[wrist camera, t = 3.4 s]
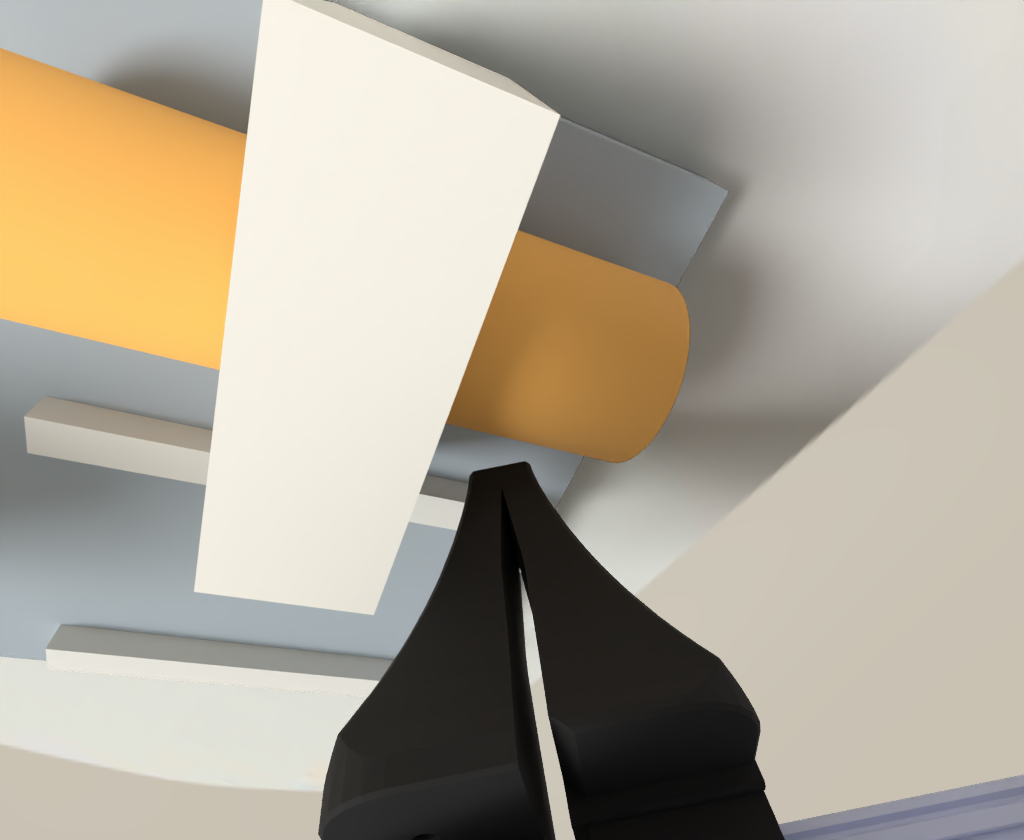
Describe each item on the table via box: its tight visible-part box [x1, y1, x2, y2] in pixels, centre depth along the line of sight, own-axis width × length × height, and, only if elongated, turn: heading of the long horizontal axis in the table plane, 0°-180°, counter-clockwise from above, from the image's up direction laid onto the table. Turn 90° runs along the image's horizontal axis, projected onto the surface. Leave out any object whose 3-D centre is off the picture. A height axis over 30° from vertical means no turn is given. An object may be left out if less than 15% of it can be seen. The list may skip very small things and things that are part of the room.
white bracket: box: [194, 0, 560, 615], centre depth 10 cm, size 3×9×5 cm, turn 159°
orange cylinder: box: [0, 48, 690, 463], centre depth 10 cm, size 11×4×4 cm, turn 69°
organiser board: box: [0, 0, 729, 697], centre depth 14 cm, size 17×19×2 cm
